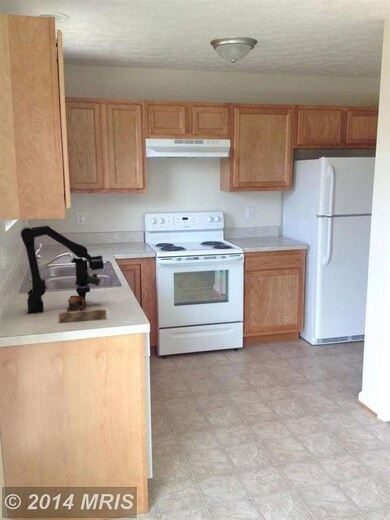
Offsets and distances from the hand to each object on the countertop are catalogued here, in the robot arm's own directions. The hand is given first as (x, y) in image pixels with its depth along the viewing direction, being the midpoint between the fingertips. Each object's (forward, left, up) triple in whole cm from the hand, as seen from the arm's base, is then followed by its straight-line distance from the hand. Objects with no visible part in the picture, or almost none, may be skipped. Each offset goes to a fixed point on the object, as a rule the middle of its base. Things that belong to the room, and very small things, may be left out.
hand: (83, 302), depth 229 cm
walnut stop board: (-1, -23, -2) cm, 23 cm away
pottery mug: (-3, -7, -2) cm, 8 cm away
